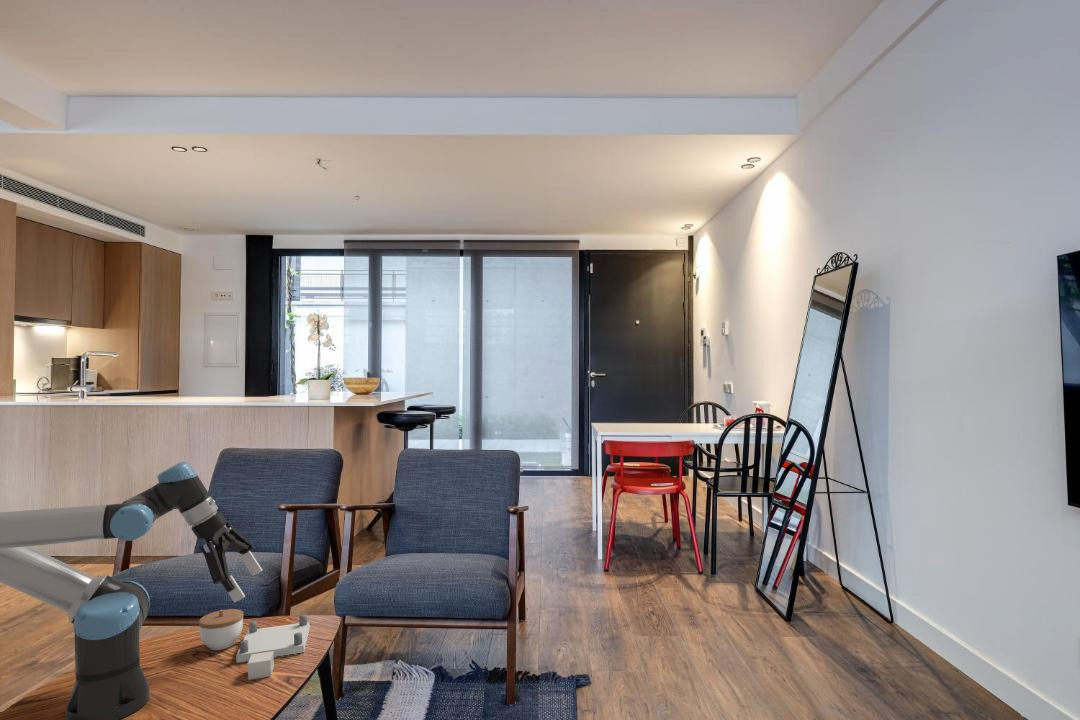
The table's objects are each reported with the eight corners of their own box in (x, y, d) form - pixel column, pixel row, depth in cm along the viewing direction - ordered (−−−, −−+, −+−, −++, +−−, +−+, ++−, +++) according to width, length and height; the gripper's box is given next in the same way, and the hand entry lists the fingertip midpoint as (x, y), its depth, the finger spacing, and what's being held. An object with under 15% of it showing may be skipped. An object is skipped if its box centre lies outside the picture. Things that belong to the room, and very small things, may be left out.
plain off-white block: (248, 680, 146) (247, 663, 146) (251, 670, 150) (251, 654, 150) (270, 676, 147) (270, 660, 147) (273, 667, 152) (273, 651, 152)
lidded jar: (252, 637, 170) (251, 603, 170) (227, 655, 159) (226, 618, 159) (217, 636, 171) (216, 602, 172) (190, 653, 161) (189, 617, 161)
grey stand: (236, 663, 154) (236, 645, 155) (248, 637, 170) (248, 621, 170) (304, 653, 159) (303, 635, 159) (309, 628, 174) (309, 613, 174)
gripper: (197, 531, 144) (245, 604, 147) (236, 494, 168) (276, 557, 172) (168, 546, 143) (217, 619, 147) (211, 506, 168) (252, 569, 172)
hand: (249, 585), depth 160 cm, fingers open, 13 cm apart
